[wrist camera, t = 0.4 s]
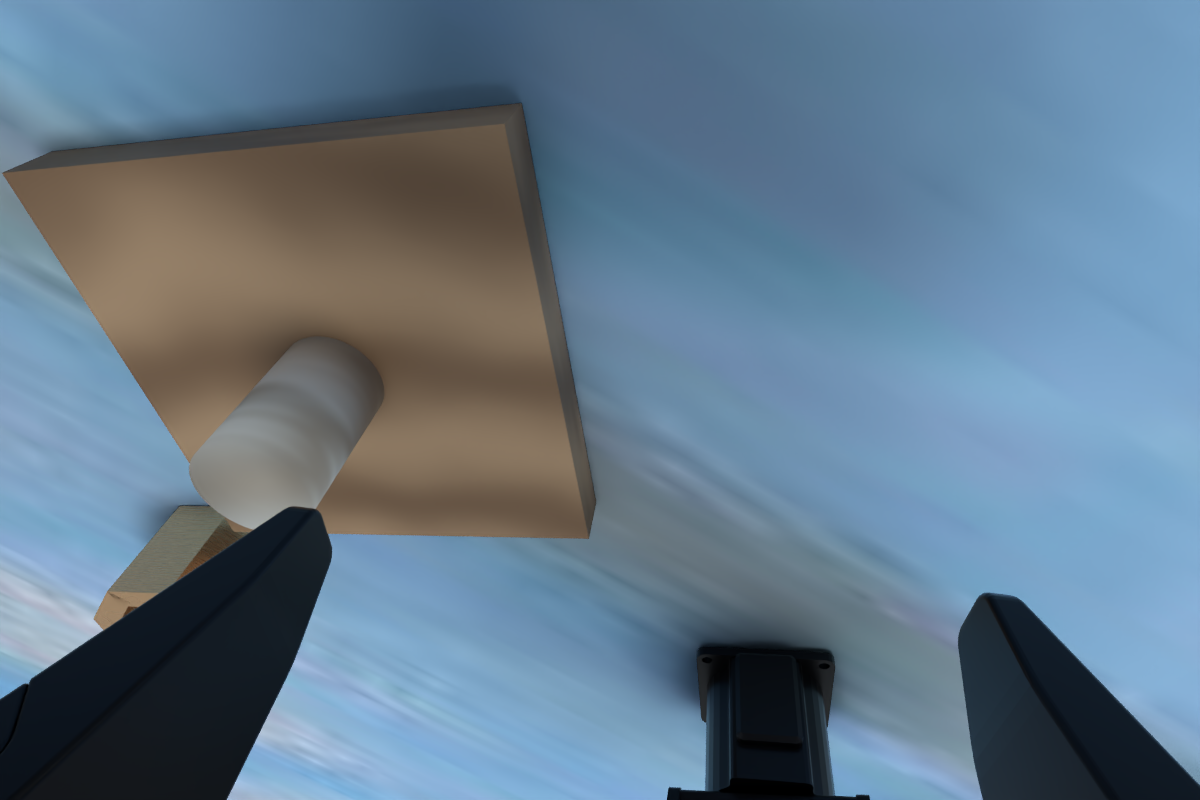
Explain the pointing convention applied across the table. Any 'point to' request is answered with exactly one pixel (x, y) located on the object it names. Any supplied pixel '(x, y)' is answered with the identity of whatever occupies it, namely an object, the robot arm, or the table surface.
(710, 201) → the table surface
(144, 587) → the brown octagonal cup
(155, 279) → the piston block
